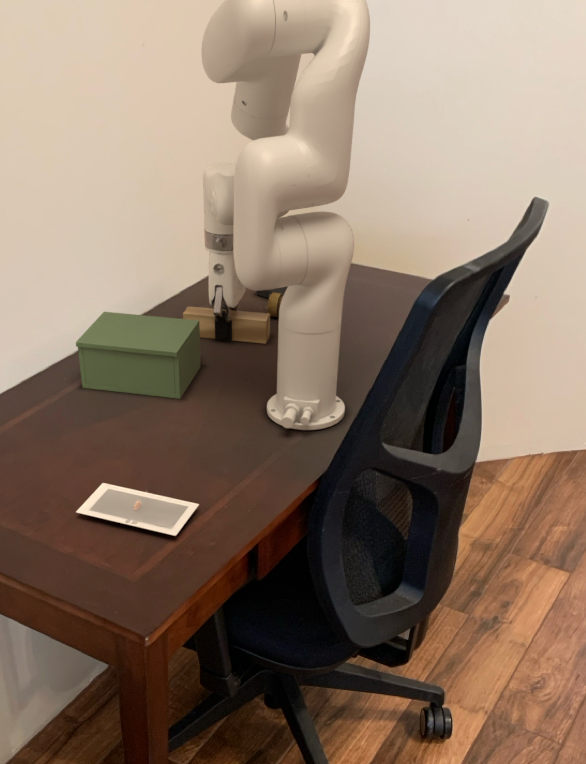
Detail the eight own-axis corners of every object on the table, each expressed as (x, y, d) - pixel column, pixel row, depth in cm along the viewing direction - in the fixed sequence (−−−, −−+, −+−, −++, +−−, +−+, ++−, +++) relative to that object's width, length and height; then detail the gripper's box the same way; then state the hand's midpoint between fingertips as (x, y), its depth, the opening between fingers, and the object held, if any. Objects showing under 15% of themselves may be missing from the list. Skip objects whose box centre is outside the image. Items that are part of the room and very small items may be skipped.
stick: (265, 343, 167) (266, 320, 165) (183, 335, 171) (182, 313, 168) (269, 336, 170) (270, 313, 167) (188, 328, 174) (187, 306, 171)
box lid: (177, 357, 145) (177, 352, 145) (76, 346, 149) (75, 342, 149) (199, 324, 155) (199, 320, 155) (104, 316, 159) (103, 311, 159)
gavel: (300, 267, 190) (346, 272, 187) (298, 288, 192) (344, 294, 189) (267, 296, 174) (317, 302, 170) (266, 319, 176) (315, 326, 173)
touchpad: (103, 489, 129) (102, 476, 128) (199, 510, 124) (199, 497, 123) (76, 518, 123) (74, 505, 122) (176, 542, 118) (175, 529, 117)
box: (180, 398, 150) (178, 355, 146) (82, 387, 154) (77, 345, 150) (200, 366, 160) (199, 325, 156) (108, 356, 164) (104, 316, 159)
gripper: (234, 256, 152) (235, 356, 163) (256, 225, 165) (255, 320, 176) (192, 252, 154) (195, 352, 165) (217, 223, 167) (218, 316, 178)
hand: (226, 334), depth 170 cm, fingers closed on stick, 3 cm apart
